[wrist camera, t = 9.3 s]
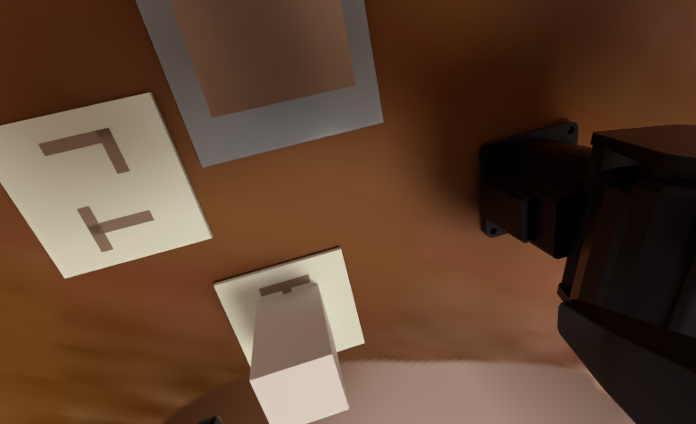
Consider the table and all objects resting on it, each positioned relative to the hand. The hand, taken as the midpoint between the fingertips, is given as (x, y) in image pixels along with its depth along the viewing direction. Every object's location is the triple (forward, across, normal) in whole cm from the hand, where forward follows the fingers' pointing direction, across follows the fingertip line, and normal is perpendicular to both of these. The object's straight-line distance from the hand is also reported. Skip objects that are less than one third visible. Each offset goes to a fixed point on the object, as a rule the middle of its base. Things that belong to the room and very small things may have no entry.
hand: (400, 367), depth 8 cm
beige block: (+12, +4, +7) cm, 15 cm away
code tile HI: (+12, +4, +7) cm, 15 cm away
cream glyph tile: (+12, +11, -4) cm, 17 cm away
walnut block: (+12, +1, -9) cm, 15 cm away
